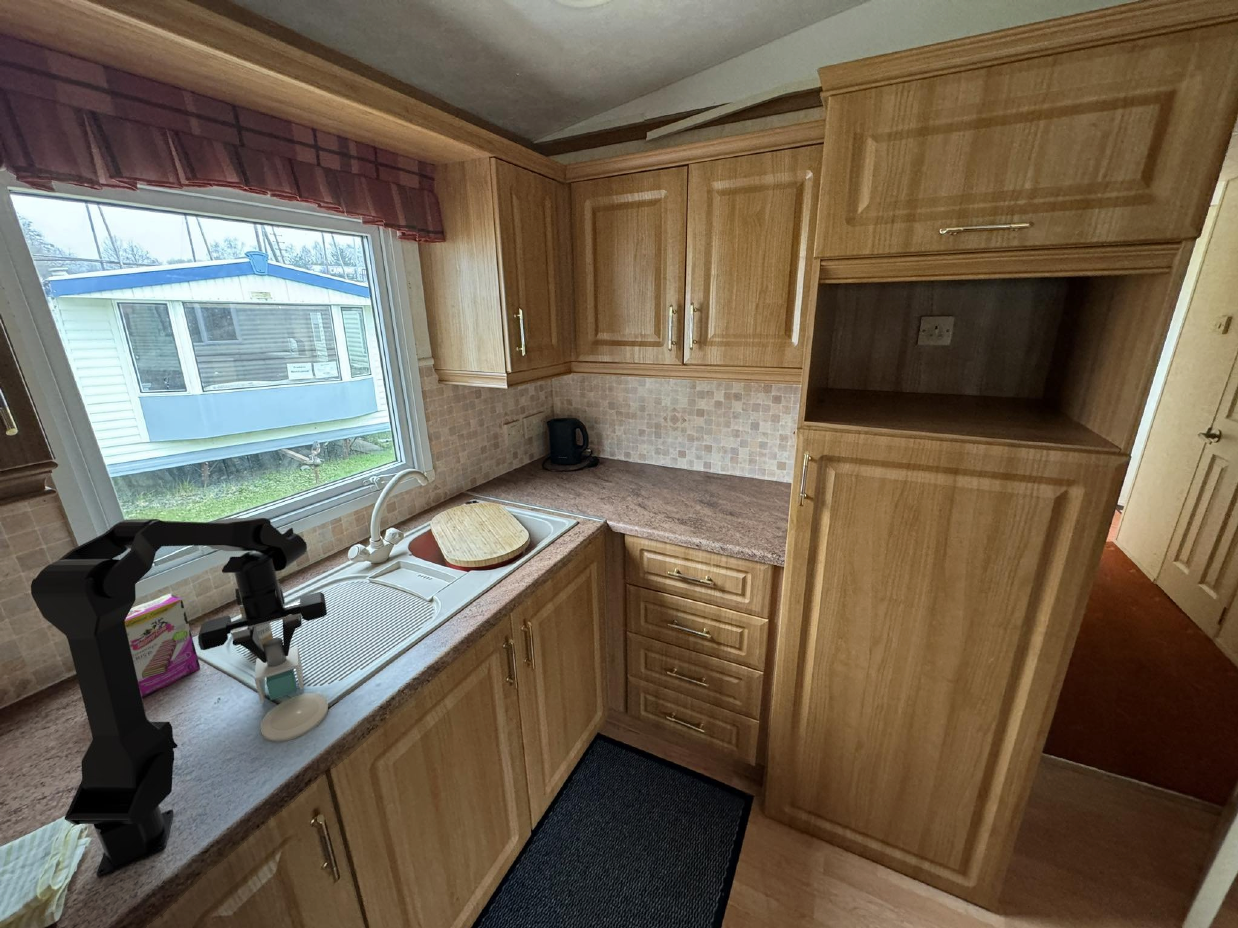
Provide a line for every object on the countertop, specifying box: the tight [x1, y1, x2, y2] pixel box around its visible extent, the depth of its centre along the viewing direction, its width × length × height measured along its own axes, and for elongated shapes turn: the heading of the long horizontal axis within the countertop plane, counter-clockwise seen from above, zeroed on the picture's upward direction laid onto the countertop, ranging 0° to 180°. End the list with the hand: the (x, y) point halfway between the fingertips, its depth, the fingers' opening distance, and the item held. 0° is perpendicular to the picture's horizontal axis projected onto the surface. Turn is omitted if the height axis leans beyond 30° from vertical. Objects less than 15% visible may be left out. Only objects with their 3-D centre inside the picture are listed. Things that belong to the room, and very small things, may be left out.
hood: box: [254, 637, 304, 704], centre depth 91 cm, size 7×7×10 cm
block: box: [265, 668, 297, 701], centre depth 92 cm, size 4×4×4 cm
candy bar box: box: [125, 593, 201, 699], centre depth 93 cm, size 11×5×16 cm, turn 154°
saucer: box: [260, 692, 329, 743], centre depth 86 cm, size 10×10×1 cm
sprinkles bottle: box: [238, 605, 274, 646], centre depth 103 cm, size 5×5×14 cm
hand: (276, 658), depth 91 cm, fingers closed on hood, 3 cm apart
